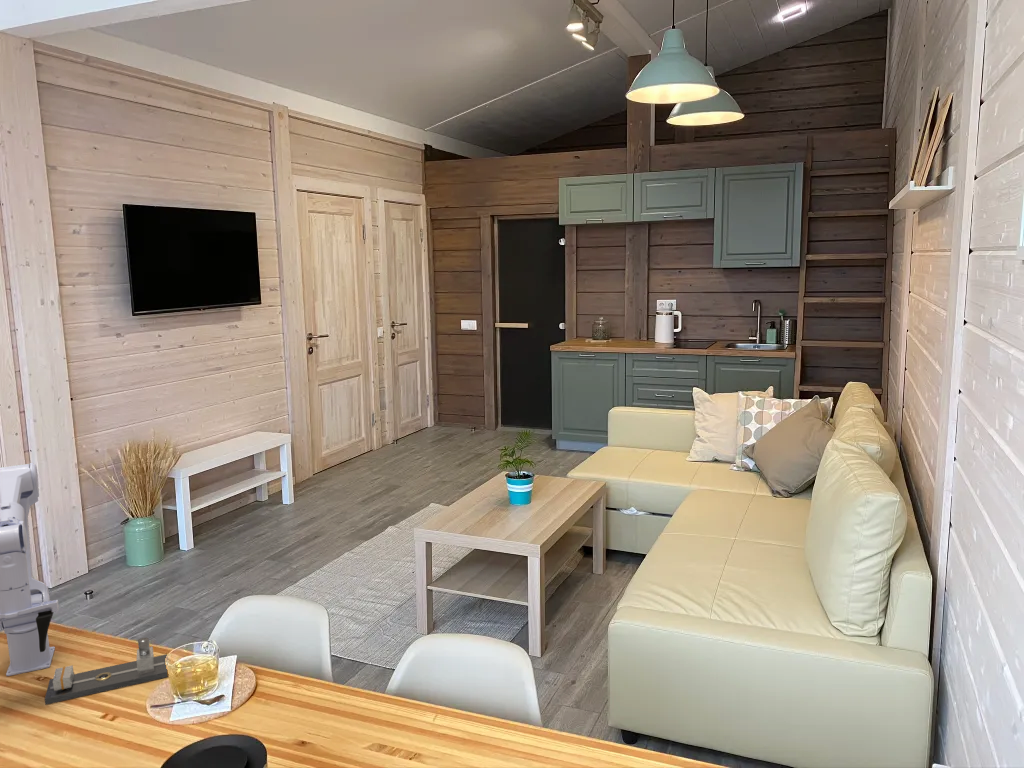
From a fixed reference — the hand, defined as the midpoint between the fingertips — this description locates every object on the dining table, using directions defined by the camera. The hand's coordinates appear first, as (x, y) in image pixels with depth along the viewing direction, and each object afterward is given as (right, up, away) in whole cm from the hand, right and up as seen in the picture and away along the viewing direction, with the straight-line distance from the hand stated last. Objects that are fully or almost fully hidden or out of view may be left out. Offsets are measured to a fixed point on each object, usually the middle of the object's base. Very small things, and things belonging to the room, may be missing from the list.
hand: (20, 655), depth 150 cm
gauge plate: (+13, -8, +8) cm, 18 cm away
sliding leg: (+6, -7, +5) cm, 11 cm away
